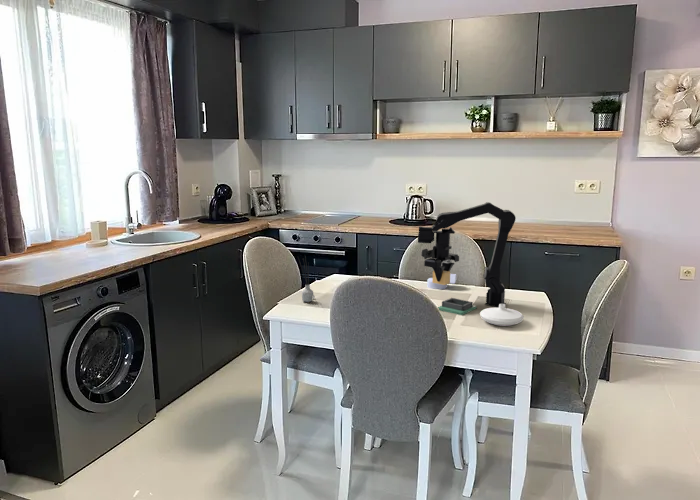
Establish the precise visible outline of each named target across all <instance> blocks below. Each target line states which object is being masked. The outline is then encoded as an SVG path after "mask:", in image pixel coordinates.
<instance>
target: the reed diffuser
mask: <svg viewBox="0 0 700 500" xmlns="http://www.w3.org/2000/svg"><path fill="white" fill-rule="evenodd" d="M297 259H298V261H299V262H298V263H299V265H300V268H301V271H302V275H303V277H304V280H305V286H304V289H303V290H302V291H301V299H302V301H303V302H307V303H309V302H312V301H314V300H315V299H314V298H315V294H314V290H312V289H311V285H310V272H309V271H304V270H308V264H307V263H303V266H304V267H302V263H301V261H300V257H297ZM302 260H303V262H307V257H306V255H304V258H302ZM303 268H304V270H303Z"/></svg>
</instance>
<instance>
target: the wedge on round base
mask: <svg viewBox="0 0 700 500" xmlns="http://www.w3.org/2000/svg"><path fill="white" fill-rule="evenodd" d="M432 280H433V277H429V278H427V284H426V285H427V286H426V287H427V288H428V289H432V290H445V289H447V286H448V284H446V285H442V284H437V283H432ZM456 281H457V274H456V273H450V283H449V284H456V283H457V282H456Z"/></svg>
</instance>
